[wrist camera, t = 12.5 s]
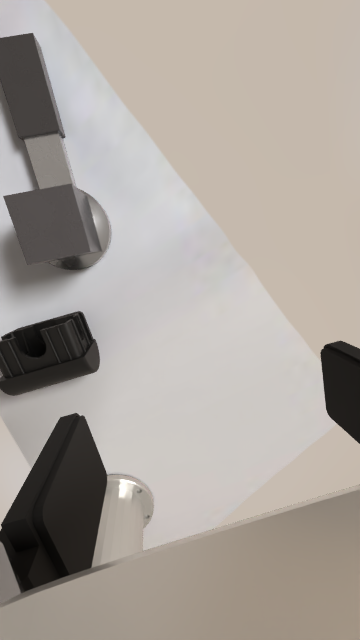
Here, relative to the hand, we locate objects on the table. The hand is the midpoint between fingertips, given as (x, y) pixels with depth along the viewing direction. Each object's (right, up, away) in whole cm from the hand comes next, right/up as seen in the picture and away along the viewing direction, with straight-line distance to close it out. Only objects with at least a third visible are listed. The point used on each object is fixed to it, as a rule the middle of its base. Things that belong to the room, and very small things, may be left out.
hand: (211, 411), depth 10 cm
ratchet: (-15, +20, +19) cm, 32 cm away
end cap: (-17, 0, +25) cm, 30 cm away
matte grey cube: (-14, +14, +20) cm, 28 cm away
